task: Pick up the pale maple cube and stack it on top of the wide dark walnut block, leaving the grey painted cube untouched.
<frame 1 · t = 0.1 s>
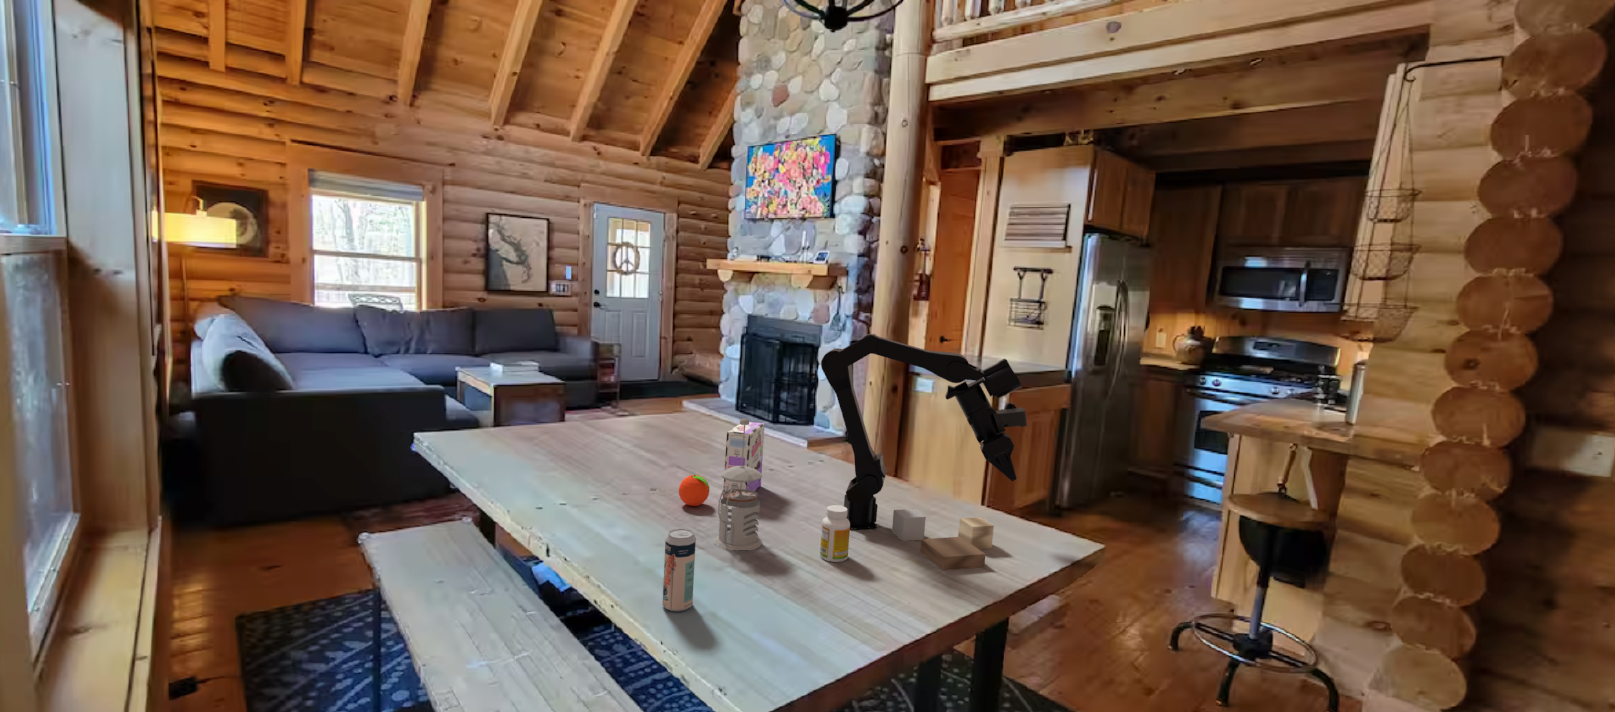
hand: (1011, 474, 146), 15 cm above the table, tool tilted 30°, fingers open, 9 cm apart
walnut block: (951, 561, 137), on the table
candy box: (742, 493, 170), on the table
french press: (735, 543, 138), on the table
clementine: (695, 506, 158), on the table
grey cube: (907, 536, 148), on the table
supplement bottle: (833, 558, 134), on the table
maple cube: (974, 544, 145), on the table
beer can: (677, 607, 110), on the table
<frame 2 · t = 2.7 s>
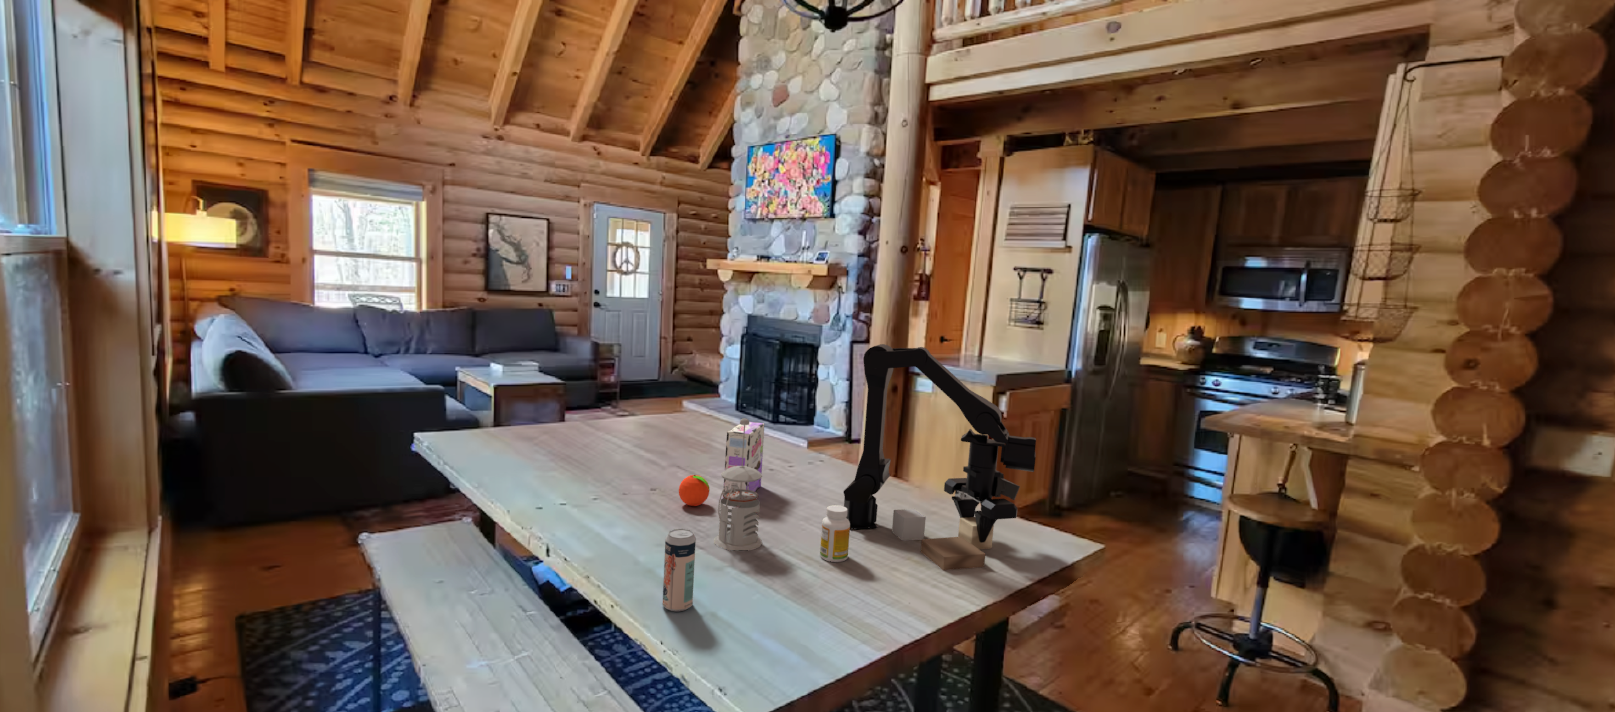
hand: (975, 537, 145), 2 cm above the table, tool pointing down, fingers closed on maple cube, 5 cm apart
maple cube: (974, 544, 145), on the table, touching gripper
everything else where it was.
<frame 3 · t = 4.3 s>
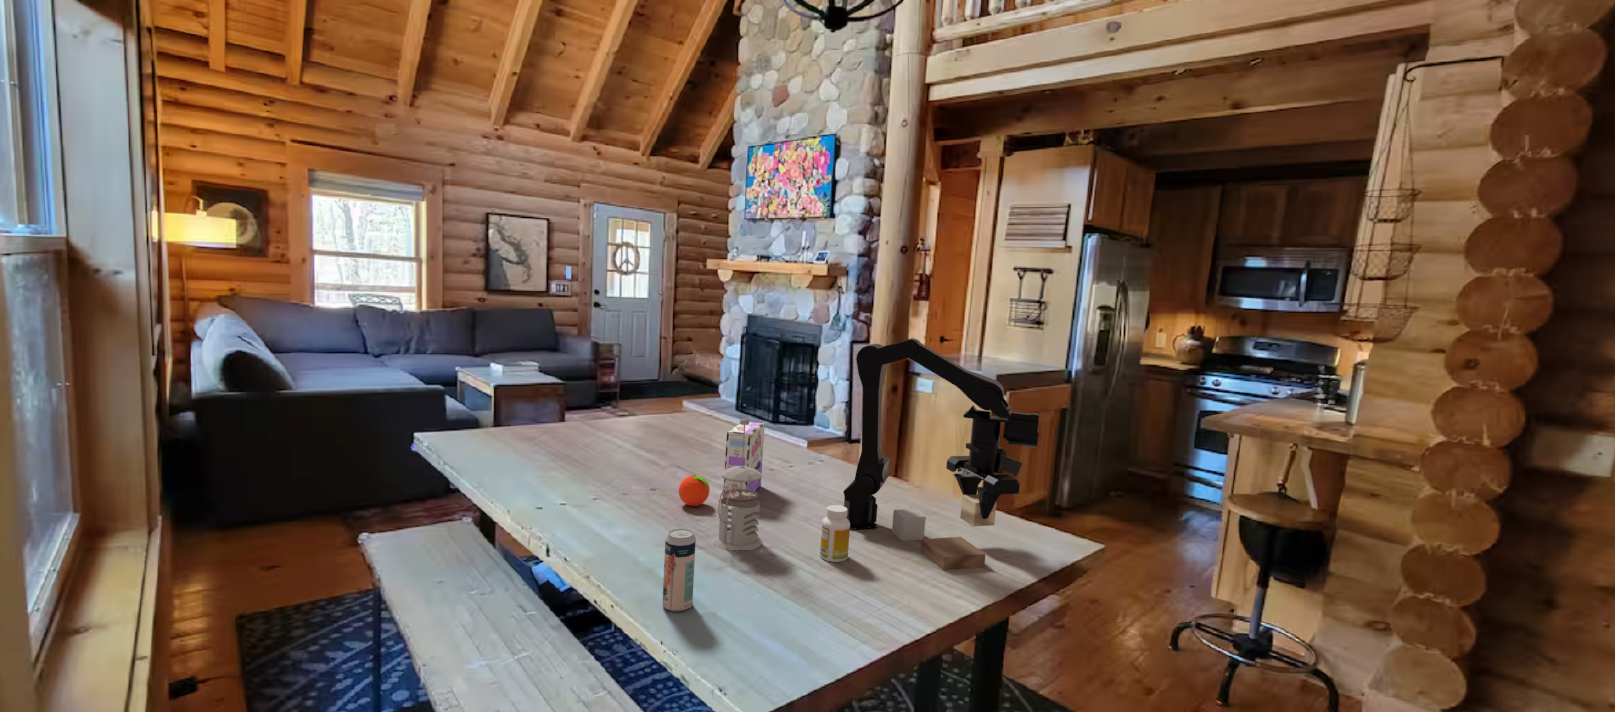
hand: (977, 514, 145), 7 cm above the table, tool pointing down, fingers closed on maple cube, 5 cm apart
maple cube: (977, 521, 145), point 5 cm above the table, touching gripper
everything else where it was.
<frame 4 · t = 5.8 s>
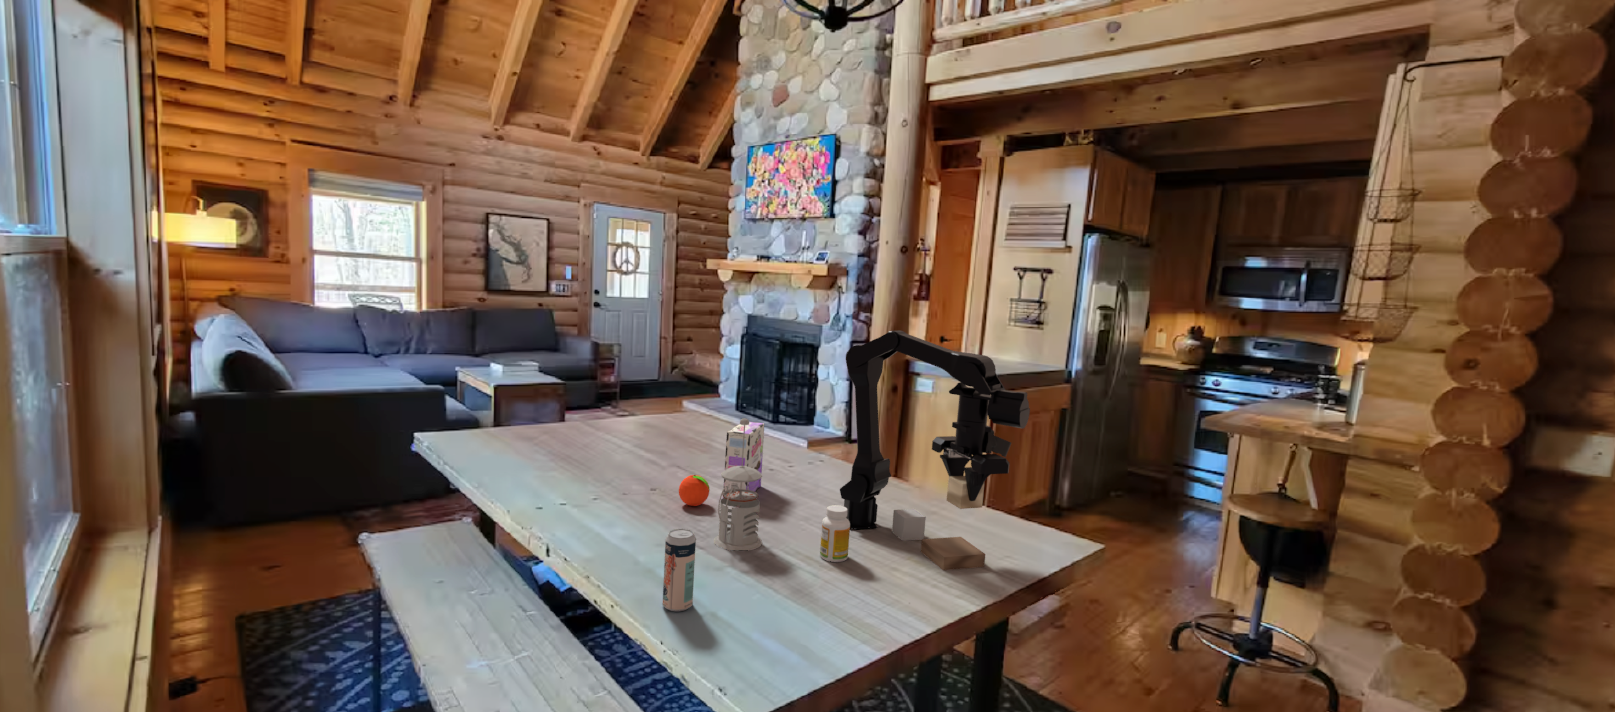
hand: (964, 496, 138), 12 cm above the table, tool pointing down, fingers closed on maple cube, 5 cm apart
maple cube: (964, 504, 138), point 10 cm above the table, touching gripper
everything else where it was.
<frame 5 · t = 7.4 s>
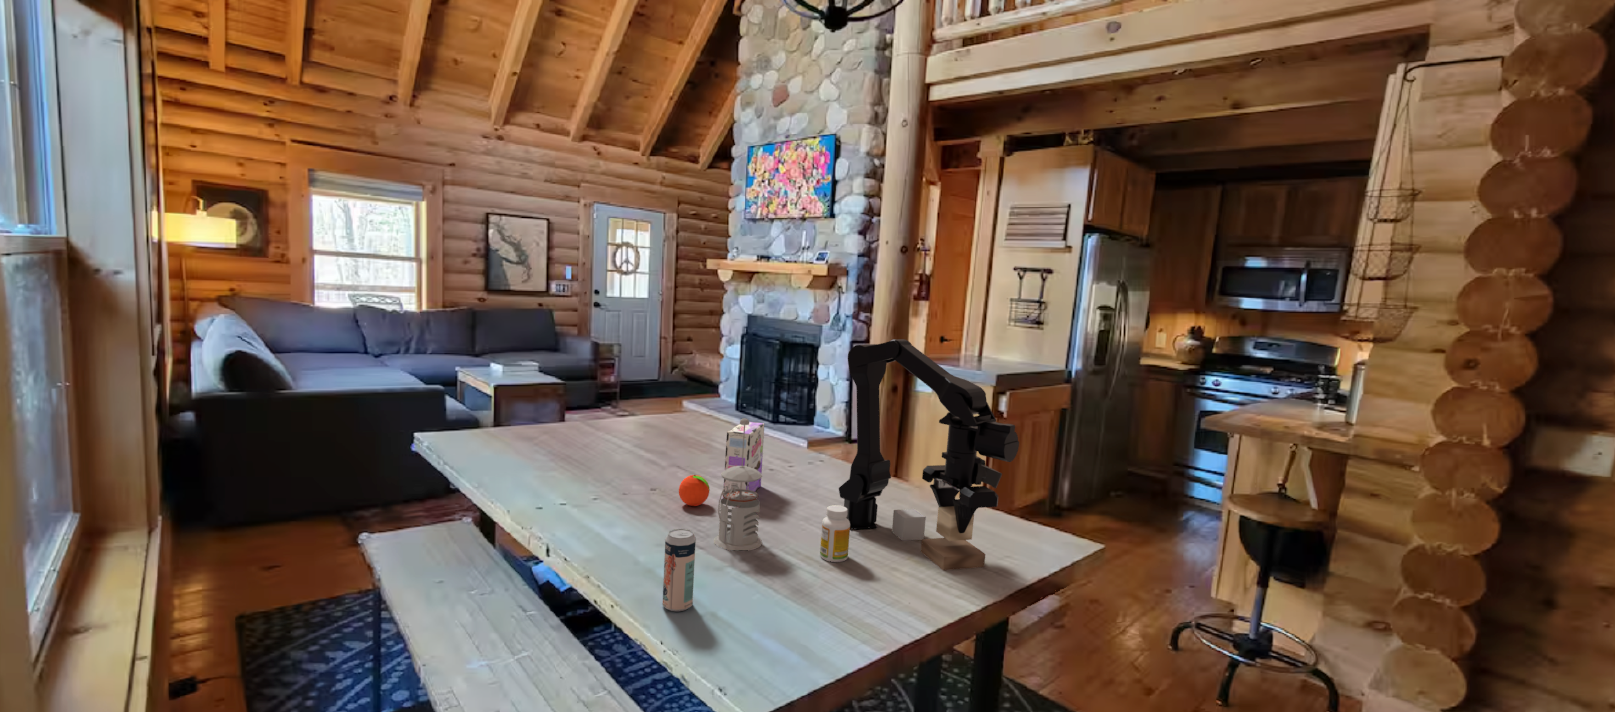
hand: (954, 527, 136), 6 cm above the table, tool pointing down, fingers closed on maple cube, 5 cm apart
maple cube: (953, 535, 136), point 5 cm above the table, touching gripper
everything else where it was.
when the fingers open (6 cm above the table, at t = 8.7 s): maple cube drops 2 cm, resting on walnut block.
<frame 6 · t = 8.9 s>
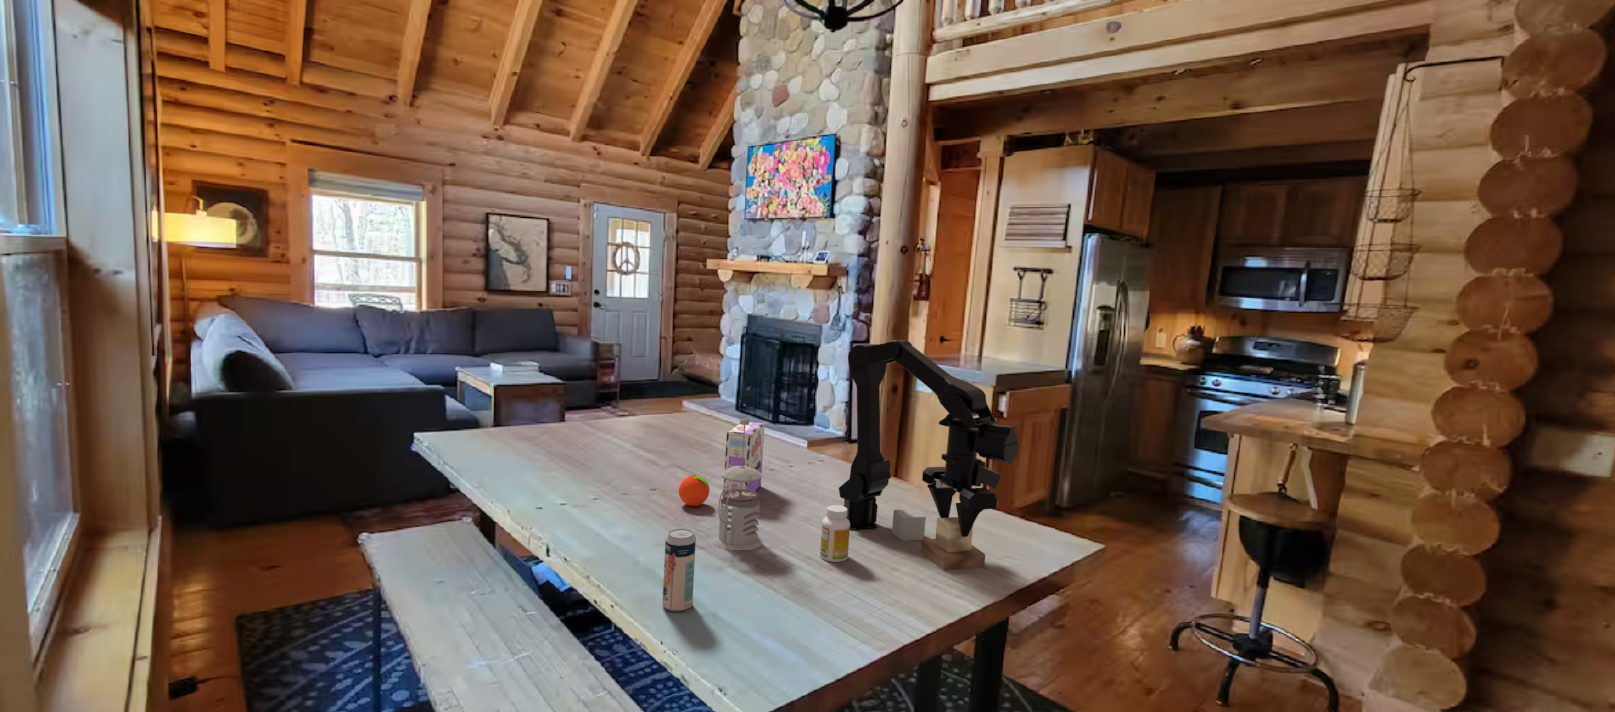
hand: (954, 529, 136), 6 cm above the table, tool pointing down, fingers open, 7 cm apart
walnut block: (951, 561, 137), on the table, touching maple cube
maple cube: (952, 546, 137), point 3 cm above the table, touching walnut block
everything else where it was.
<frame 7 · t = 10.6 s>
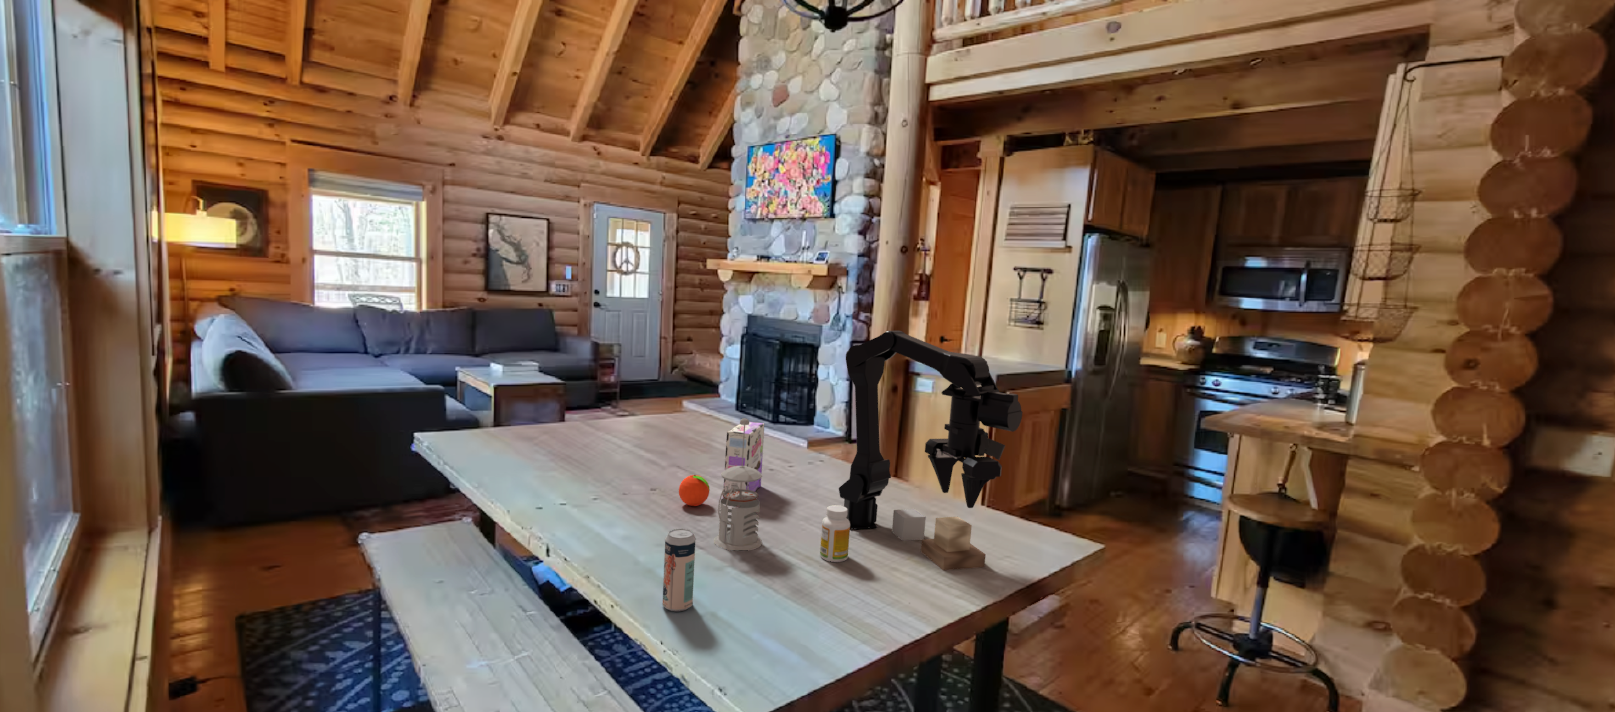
hand: (957, 499, 135), 12 cm above the table, tool pointing down, fingers open, 9 cm apart
nothing on the table moved.
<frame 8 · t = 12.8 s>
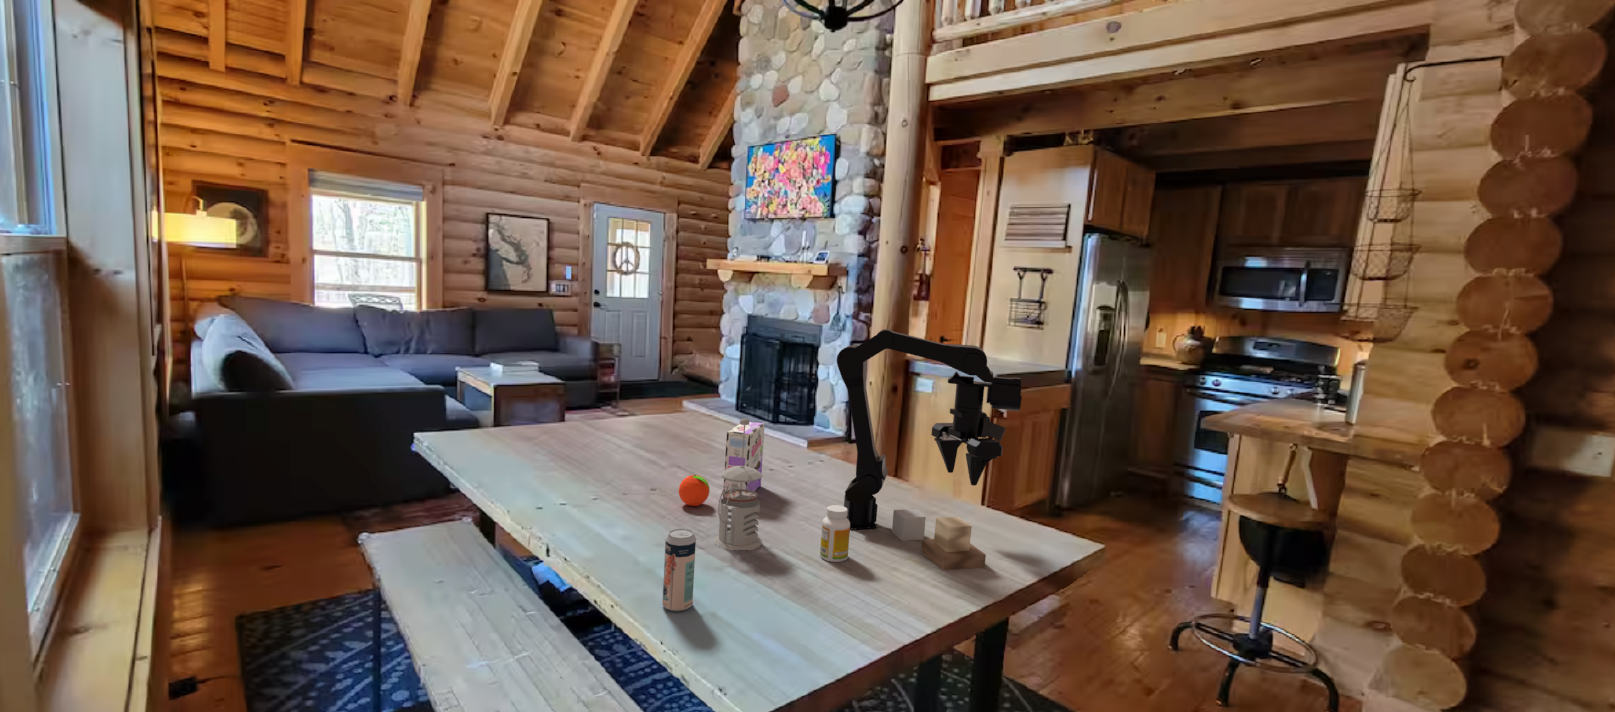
hand: (961, 478, 147), 13 cm above the table, tool pointing down, fingers open, 9 cm apart
walnut block: (951, 561, 137), on the table
maple cube: (951, 546, 137), point 3 cm above the table
everything else where it was.
at the end: maple cube 0.4 cm off-centre on the walnut block, point 3.0 cm above the walnut block's base; maple cube tilted 0°; the gripper is holding nothing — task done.
